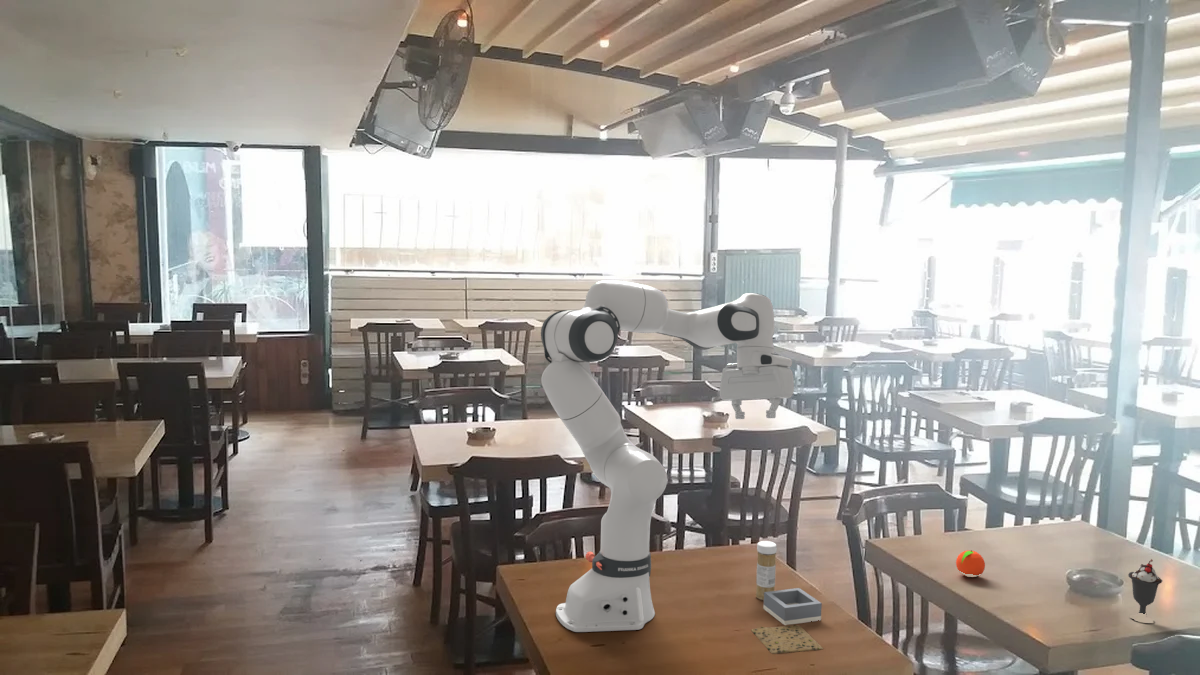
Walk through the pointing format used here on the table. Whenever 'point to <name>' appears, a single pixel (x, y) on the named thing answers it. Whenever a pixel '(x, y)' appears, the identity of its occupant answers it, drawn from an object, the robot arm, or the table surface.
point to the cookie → (786, 639)
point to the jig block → (792, 606)
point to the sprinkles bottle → (765, 568)
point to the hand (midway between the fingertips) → (755, 418)
